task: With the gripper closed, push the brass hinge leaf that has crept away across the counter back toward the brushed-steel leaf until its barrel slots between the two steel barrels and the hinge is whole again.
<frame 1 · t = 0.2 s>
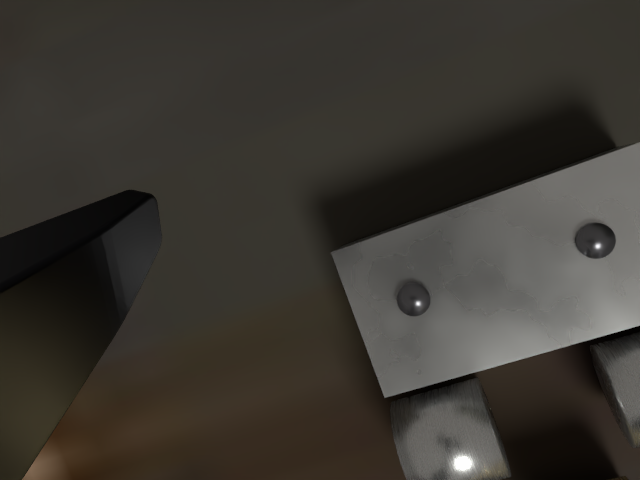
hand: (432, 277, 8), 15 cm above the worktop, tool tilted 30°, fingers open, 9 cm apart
fixed leaf: (542, 391, 22), on the worktop
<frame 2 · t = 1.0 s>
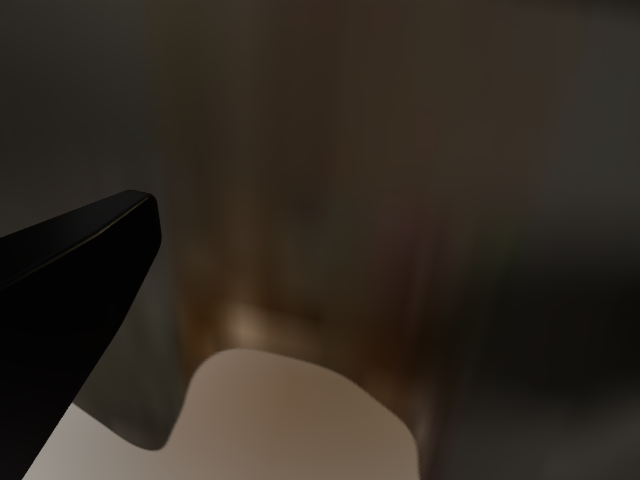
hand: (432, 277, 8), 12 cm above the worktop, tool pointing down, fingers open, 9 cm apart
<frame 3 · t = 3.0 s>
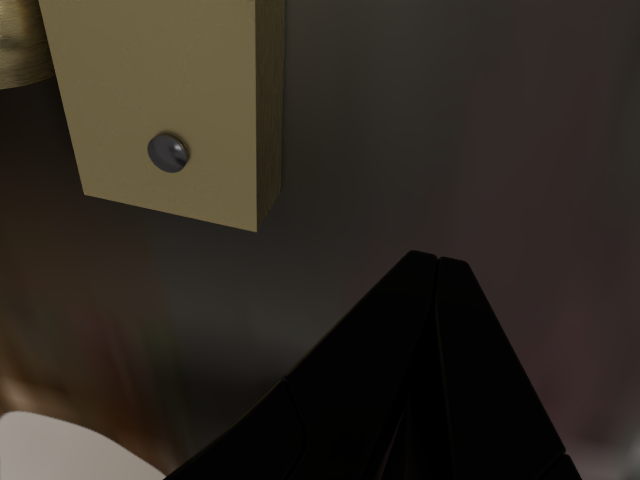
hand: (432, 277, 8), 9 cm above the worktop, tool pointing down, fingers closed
loose leaf: (88, 23, 16), point 2 cm above the worktop, slide at 5.0 cm
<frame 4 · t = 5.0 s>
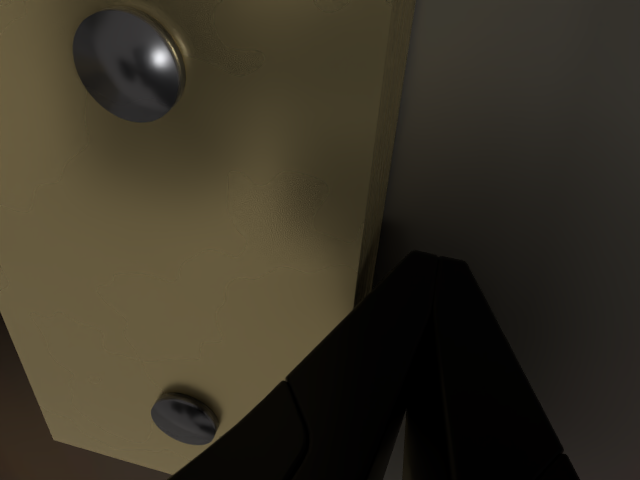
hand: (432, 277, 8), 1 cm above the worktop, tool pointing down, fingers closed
loose leaf: (48, 225, 9), point 2 cm above the worktop, slide at 4.1 cm, touching gripper
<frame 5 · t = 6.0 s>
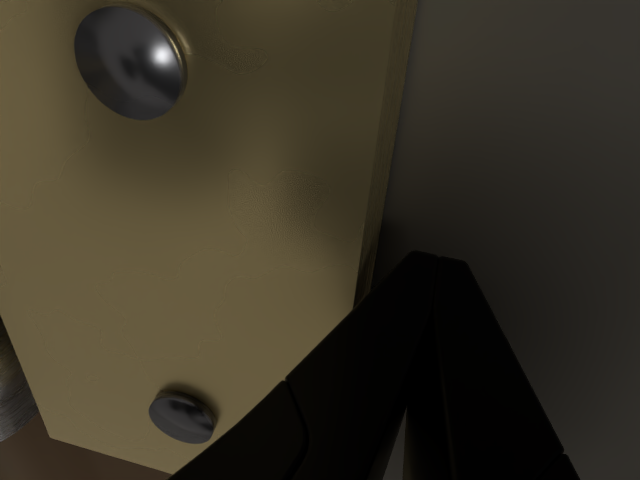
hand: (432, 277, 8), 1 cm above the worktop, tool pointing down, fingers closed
loose leaf: (47, 223, 9), point 2 cm above the worktop, slide at 0.1 cm, touching gripper
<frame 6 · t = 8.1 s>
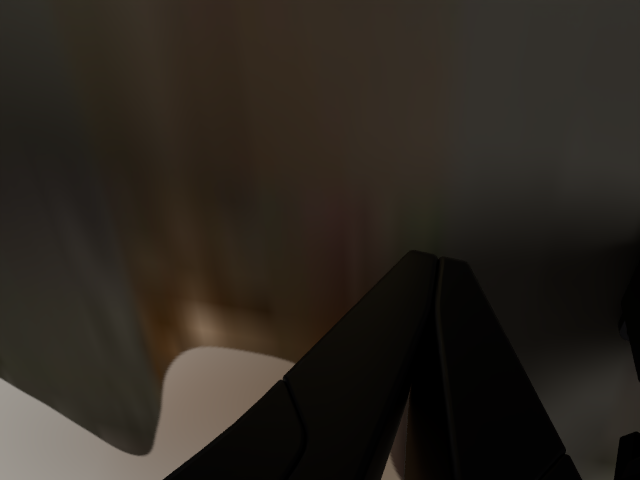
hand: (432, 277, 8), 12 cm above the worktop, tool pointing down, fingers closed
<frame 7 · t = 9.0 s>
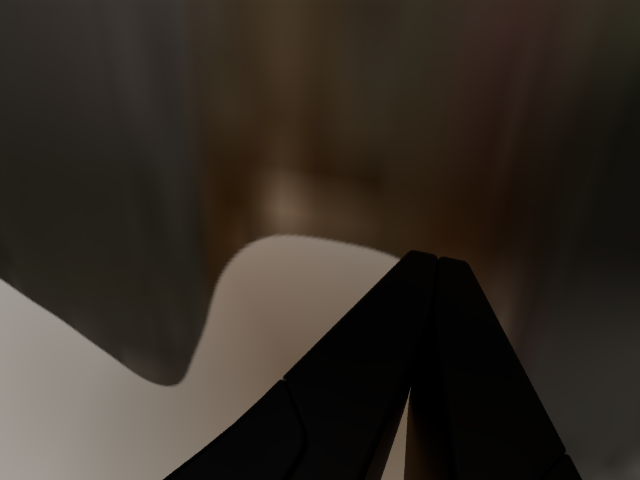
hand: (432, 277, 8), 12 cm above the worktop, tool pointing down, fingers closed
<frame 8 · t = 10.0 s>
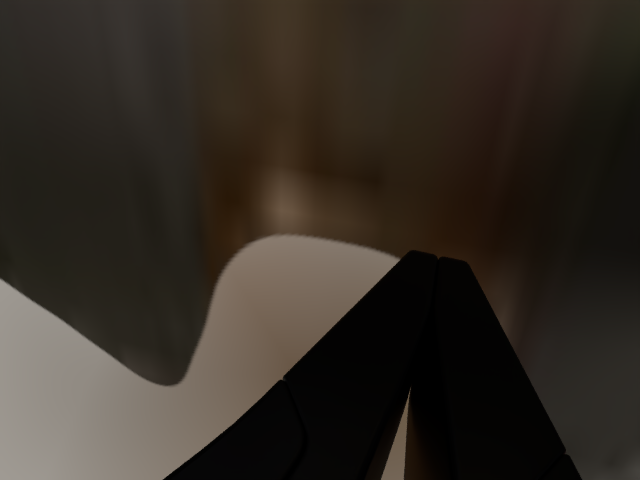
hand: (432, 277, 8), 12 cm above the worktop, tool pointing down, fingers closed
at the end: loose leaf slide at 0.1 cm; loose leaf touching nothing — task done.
